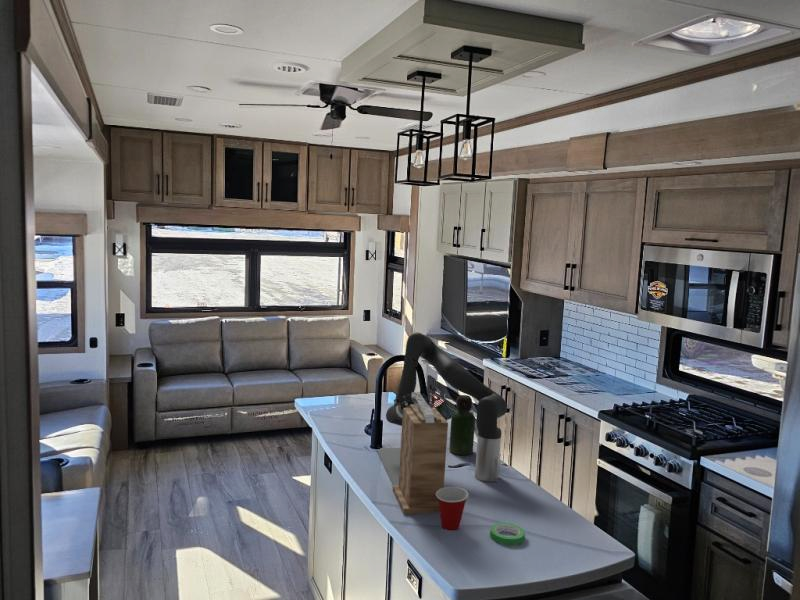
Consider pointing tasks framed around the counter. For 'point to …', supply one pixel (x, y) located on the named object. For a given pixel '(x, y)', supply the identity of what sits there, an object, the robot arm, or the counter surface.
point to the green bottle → (462, 427)
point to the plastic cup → (451, 506)
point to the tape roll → (507, 539)
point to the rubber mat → (391, 462)
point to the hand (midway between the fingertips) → (416, 396)
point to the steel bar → (422, 407)
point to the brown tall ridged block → (421, 462)
